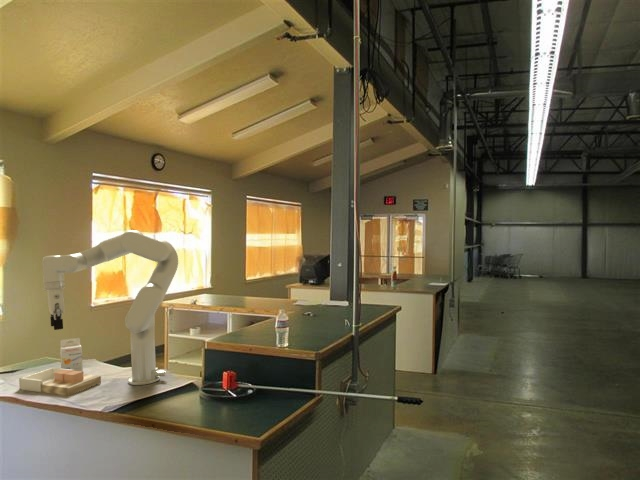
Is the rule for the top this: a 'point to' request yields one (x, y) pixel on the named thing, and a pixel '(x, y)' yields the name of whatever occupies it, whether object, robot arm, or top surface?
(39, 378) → the tray
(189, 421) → the top surface
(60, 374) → the tile
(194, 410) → the top surface
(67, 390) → the board
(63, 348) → the ink box
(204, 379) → the top surface
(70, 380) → the tile
